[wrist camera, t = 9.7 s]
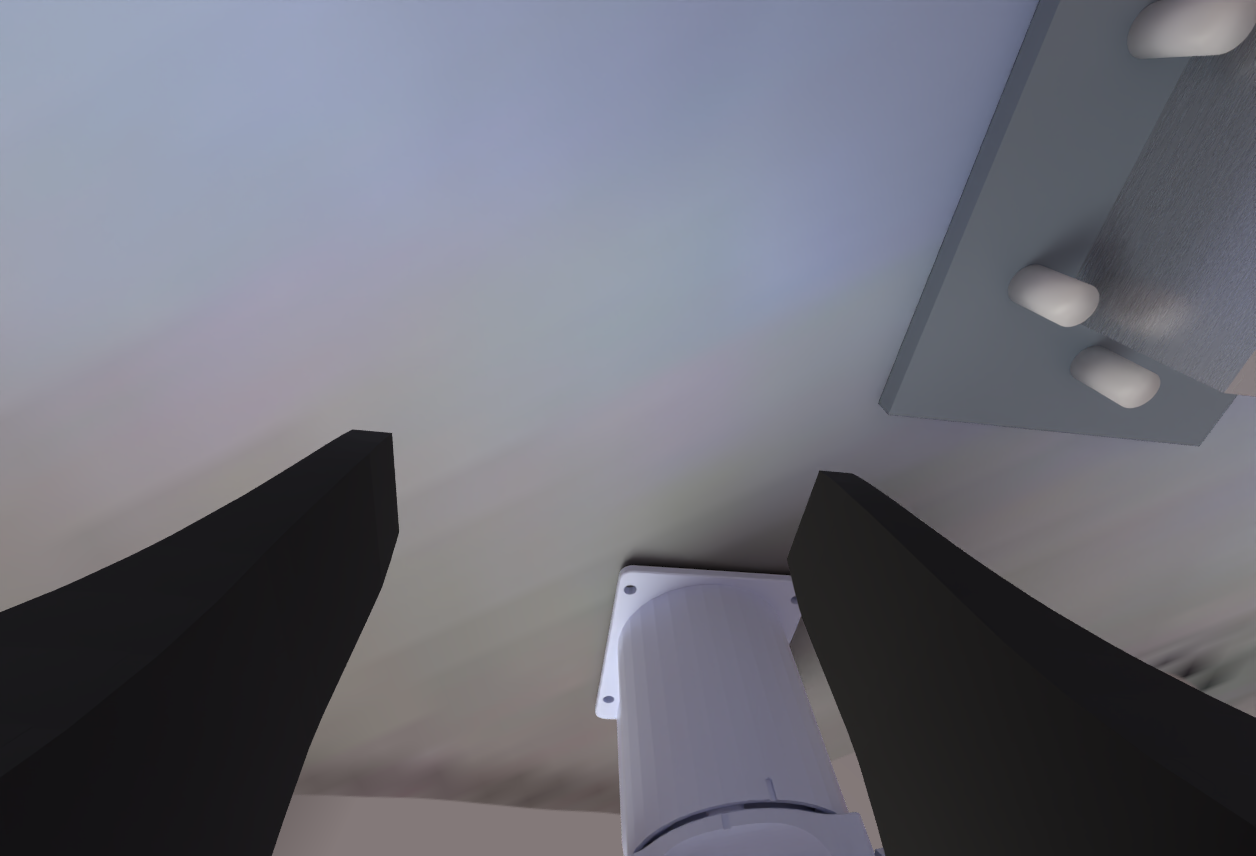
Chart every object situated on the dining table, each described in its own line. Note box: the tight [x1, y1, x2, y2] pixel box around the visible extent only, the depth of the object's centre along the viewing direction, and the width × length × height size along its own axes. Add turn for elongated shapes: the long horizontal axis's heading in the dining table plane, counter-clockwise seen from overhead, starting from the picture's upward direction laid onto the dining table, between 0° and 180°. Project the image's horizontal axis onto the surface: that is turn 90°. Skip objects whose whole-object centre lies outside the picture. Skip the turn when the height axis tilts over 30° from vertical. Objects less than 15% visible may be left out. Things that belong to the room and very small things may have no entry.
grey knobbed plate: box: [878, 0, 1256, 446], centre depth 16 cm, size 16×12×3 cm
